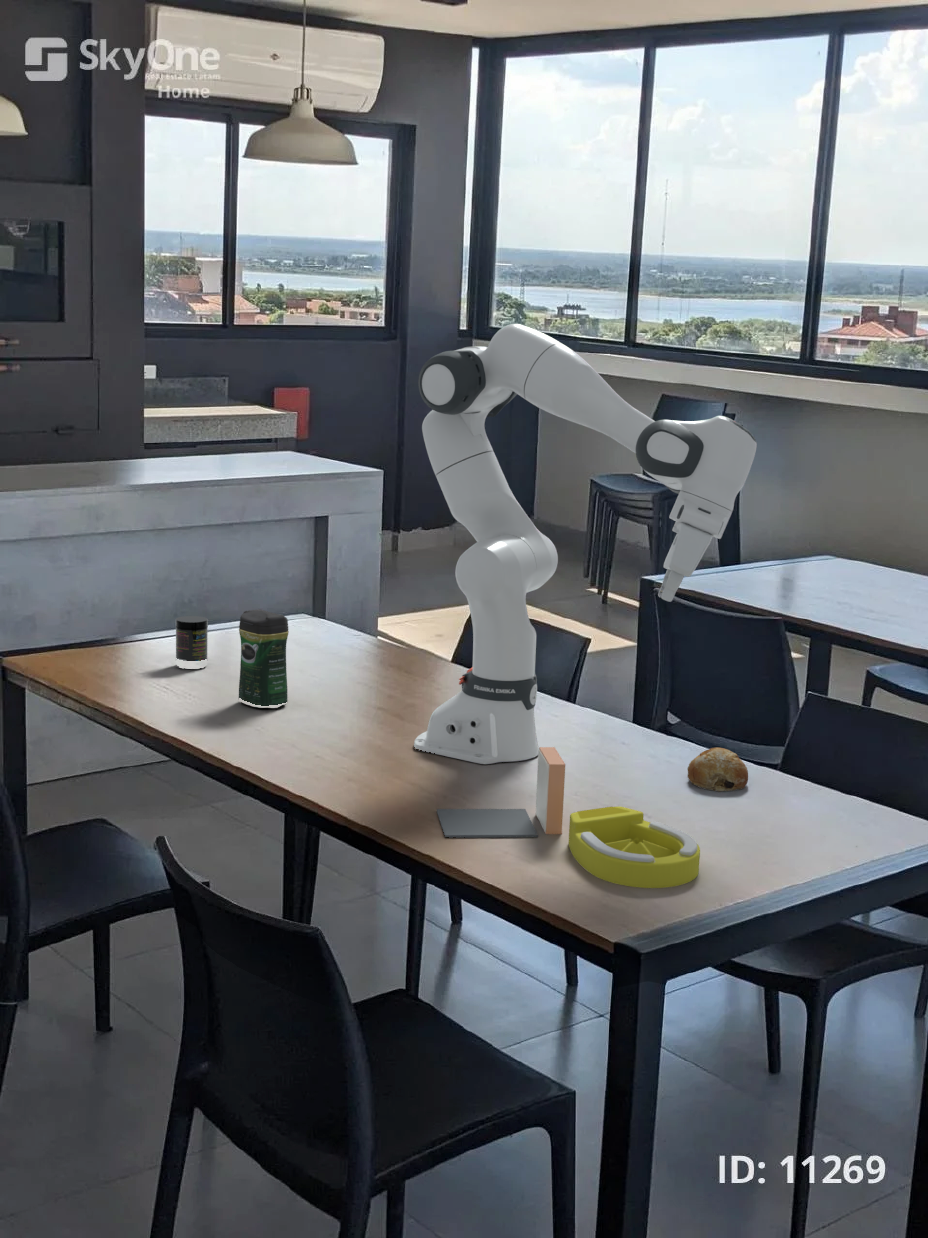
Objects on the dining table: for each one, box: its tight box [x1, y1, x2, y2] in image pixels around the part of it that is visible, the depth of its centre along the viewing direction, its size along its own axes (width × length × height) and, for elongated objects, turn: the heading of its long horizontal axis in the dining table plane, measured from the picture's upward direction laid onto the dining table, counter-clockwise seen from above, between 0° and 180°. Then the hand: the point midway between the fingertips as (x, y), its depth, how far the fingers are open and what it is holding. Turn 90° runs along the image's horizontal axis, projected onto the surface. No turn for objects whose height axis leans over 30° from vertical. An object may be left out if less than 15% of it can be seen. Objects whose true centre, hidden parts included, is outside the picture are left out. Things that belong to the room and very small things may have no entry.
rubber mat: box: [436, 808, 539, 839], centre depth 234 cm, size 14×12×1 cm
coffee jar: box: [238, 608, 289, 706], centre depth 296 cm, size 10×8×19 cm
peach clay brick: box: [535, 746, 566, 835], centre depth 234 cm, size 3×9×11 cm, turn 7°
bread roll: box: [687, 746, 749, 793], centre depth 259 cm, size 10×10×8 cm
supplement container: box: [175, 615, 209, 661], centre depth 325 cm, size 7×7×10 cm
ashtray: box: [568, 805, 701, 889], centre depth 220 cm, size 16×21×5 cm
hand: (664, 599), depth 242 cm, fingers open, 8 cm apart
